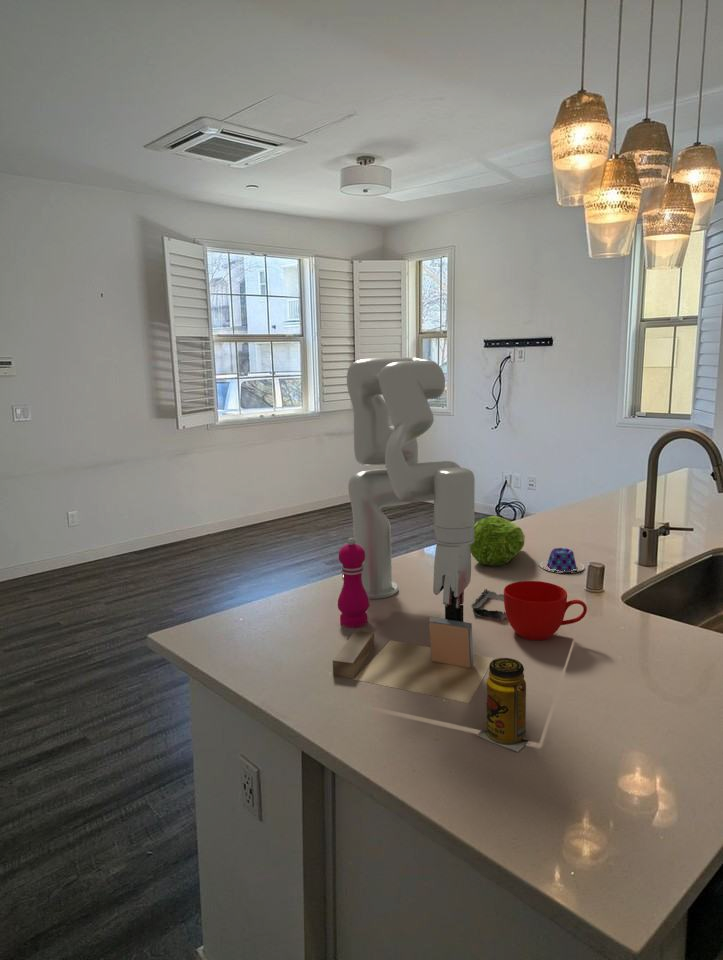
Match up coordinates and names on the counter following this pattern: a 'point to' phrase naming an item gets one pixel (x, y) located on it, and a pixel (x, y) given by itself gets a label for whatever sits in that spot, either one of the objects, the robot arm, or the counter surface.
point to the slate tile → (451, 642)
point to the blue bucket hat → (561, 560)
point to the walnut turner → (353, 654)
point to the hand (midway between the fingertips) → (454, 624)
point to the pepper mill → (352, 586)
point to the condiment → (506, 704)
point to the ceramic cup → (537, 608)
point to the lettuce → (496, 541)
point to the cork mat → (424, 672)
